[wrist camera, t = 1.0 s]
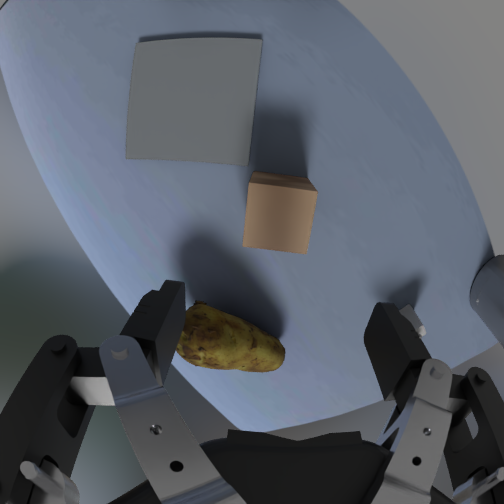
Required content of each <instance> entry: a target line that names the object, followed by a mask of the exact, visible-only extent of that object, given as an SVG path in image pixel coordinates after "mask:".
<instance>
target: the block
mask: <svg viewBox="0 0 504 504" xmlns="http://www.w3.org/2000/svg"><path fill="white" fill-rule="evenodd" d="M317 194H318V191H317V190H316V189H315V187H314V186H313V185H312V183H311V182H310V181H309V179H308V178H304V177H297V176H290V175H282V174H275V173H267V172H258V171H253V174H252V176H251V179H250V181H249V187H248V197H247V207H246V216H245V226H244V236H243V247H251V248H259V249H268V250H276V251H284V252H292V253H300V254H307V249H308V244H309V238H310V233H311V228H312V222H313V217H314V211H315V206H316V200H317Z"/></svg>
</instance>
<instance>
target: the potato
mask: <svg viewBox="0 0 504 504" xmlns="http://www.w3.org/2000/svg"><path fill="white" fill-rule="evenodd" d="M195 302H196V303H194V305H193V306H191V307H189V309H188V310H187V311H186V317H185V324H184V328H183V331H182V333H181V336H180V339H179V342H178V345H177V347H176V351H177V353H178V354H179V355H180V356H181V357H182V358H183V359H185V360H186V361H187V362H189V363H191V364H193V365H195V366H200V367H205V368H210V369H223V370H229V369H238V370H242V371H248V372H262V373H263V372H269V371H274V370H276V369H278V368H279V367H280V366H281V365H282V363H283V361H284V359H285V348H284V347H283V345H282V344H281V342H280V341H279V340H278V339H277V338H276V337H273V336H272V335H269V334H268V333H267V332H265V331H263V330H261V329H259V328H258V327H256V326H254V325H253V324H251V323H249V322H247V321H246V320H243V319H241V318H239V317H236V316H233V315H230V314H228V313H225V312H223V311H220V310H218V309H215V308H213V307H210V306H207V305H206V303H203V302H202V301H195Z"/></svg>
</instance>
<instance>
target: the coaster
mask: <svg viewBox="0 0 504 504" xmlns="http://www.w3.org/2000/svg"><path fill="white" fill-rule="evenodd" d="M262 44H263V40H260V39H245V38H182V39H168V40H157V41H148V42H140V43H136V46H135V53H134V59H133V66H132V74H131V83H130V92H129V103H128V115H127V132H126V159H148V160H174V161H192V162H207V163H219V164H230V165H241V166H249V158H250V149H251V140H252V130H253V121H254V112H255V103H256V95H257V86H258V77H259V69H260V60H261V52H262Z"/></svg>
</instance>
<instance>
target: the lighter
mask: <svg viewBox="0 0 504 504" xmlns="http://www.w3.org/2000/svg"><path fill="white" fill-rule="evenodd" d="M399 312H400V313H401V315H403V316H405V317H406V318H407V319H408V320H409V321H410V322H411V323H412V325H413V326H414V328H415V330H416V332H417V333H418V335H419V338H422V336H424V335H425V334H426V330H425V328H424V326H423V324H422V323H421V321H420V319H419V318H418V316H417V314H416V313H415V311H414V310H413V308H412V307H411V305H410V304H408V305H407V306H405V307H404V308H402V309H401V310H399Z"/></svg>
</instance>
